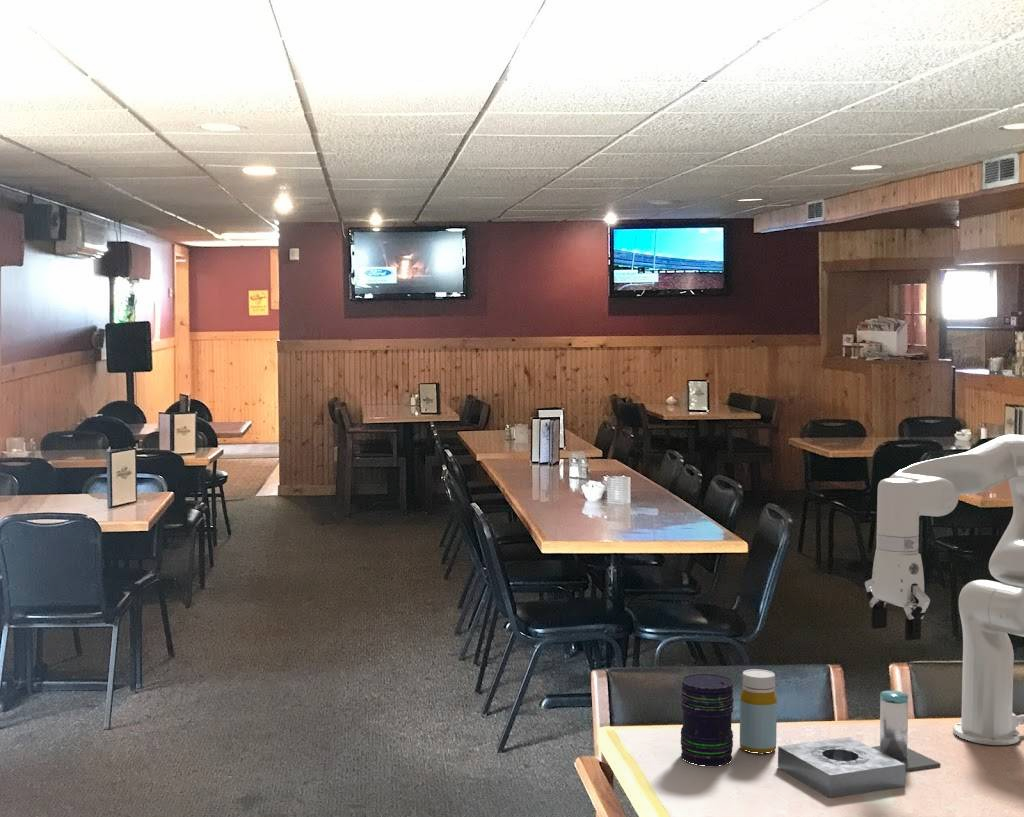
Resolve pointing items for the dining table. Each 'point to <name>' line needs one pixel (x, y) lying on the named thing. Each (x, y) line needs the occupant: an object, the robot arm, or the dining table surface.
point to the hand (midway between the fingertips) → (895, 633)
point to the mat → (915, 760)
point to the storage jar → (707, 719)
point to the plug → (894, 724)
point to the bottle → (758, 711)
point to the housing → (841, 766)
